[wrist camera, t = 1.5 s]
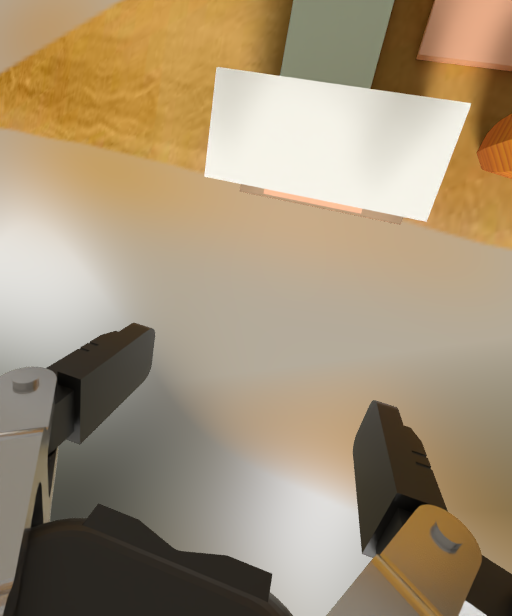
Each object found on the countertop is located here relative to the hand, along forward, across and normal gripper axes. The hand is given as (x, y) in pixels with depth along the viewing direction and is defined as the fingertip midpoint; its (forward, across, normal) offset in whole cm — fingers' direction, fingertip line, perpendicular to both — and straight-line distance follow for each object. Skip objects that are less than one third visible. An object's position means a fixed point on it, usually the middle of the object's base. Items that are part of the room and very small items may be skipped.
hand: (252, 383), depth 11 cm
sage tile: (+25, +3, -19) cm, 31 cm away
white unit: (+25, 0, -9) cm, 26 cm away
